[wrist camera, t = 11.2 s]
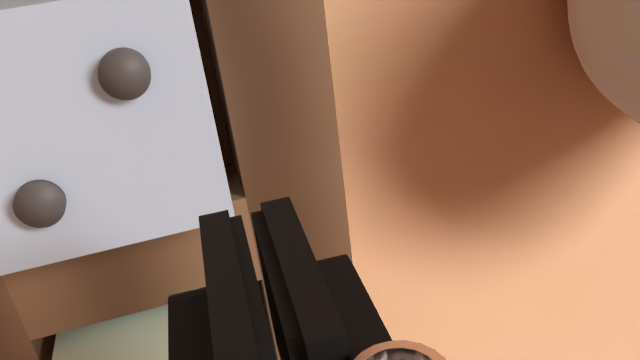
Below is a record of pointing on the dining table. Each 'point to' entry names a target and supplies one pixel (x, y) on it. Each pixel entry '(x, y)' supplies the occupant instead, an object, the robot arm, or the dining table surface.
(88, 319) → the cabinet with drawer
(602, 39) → the teacup
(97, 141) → the white die
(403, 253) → the dining table surface
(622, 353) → the dining table surface
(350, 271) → the robot arm
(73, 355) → the pale green block
